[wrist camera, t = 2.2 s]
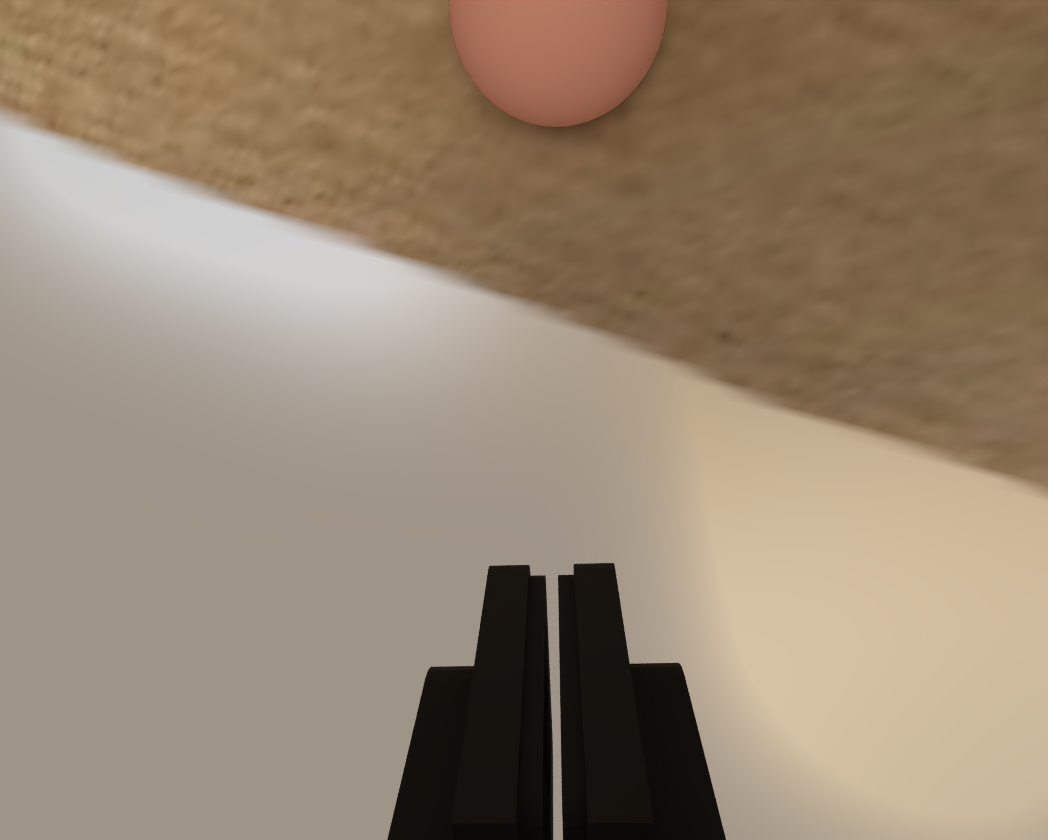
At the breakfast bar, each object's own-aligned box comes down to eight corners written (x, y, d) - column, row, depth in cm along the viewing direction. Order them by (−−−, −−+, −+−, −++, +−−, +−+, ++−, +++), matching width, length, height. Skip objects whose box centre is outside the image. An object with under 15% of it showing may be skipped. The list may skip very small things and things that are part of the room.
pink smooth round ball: (655, -94, 20) (688, -175, 15) (652, 123, 22) (680, 118, 17) (456, -80, 20) (420, -154, 15) (470, 133, 22) (443, 130, 17)
